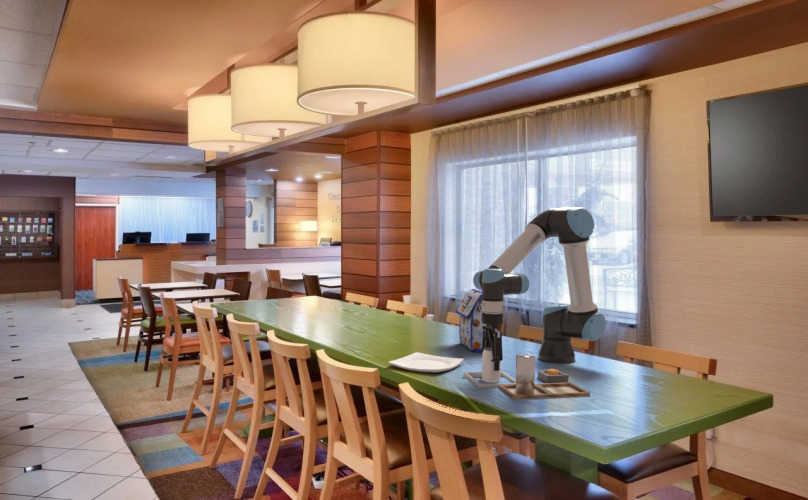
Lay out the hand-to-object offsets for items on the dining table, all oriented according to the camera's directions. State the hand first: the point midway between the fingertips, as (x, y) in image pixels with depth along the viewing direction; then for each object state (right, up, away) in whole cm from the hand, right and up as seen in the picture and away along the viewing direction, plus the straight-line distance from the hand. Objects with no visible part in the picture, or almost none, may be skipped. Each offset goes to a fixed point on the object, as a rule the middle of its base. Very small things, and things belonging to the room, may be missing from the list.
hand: (491, 376), depth 200 cm
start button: (+22, -2, +1) cm, 22 cm away
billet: (+9, -2, -16) cm, 18 cm away
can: (0, -2, 0) cm, 2 cm away
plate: (-22, -2, +24) cm, 33 cm away
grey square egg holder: (+22, -3, +1) cm, 22 cm away
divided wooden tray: (+15, -3, -14) cm, 21 cm away
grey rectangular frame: (0, -2, 0) cm, 2 cm away
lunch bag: (+3, -1, +63) cm, 63 cm away
